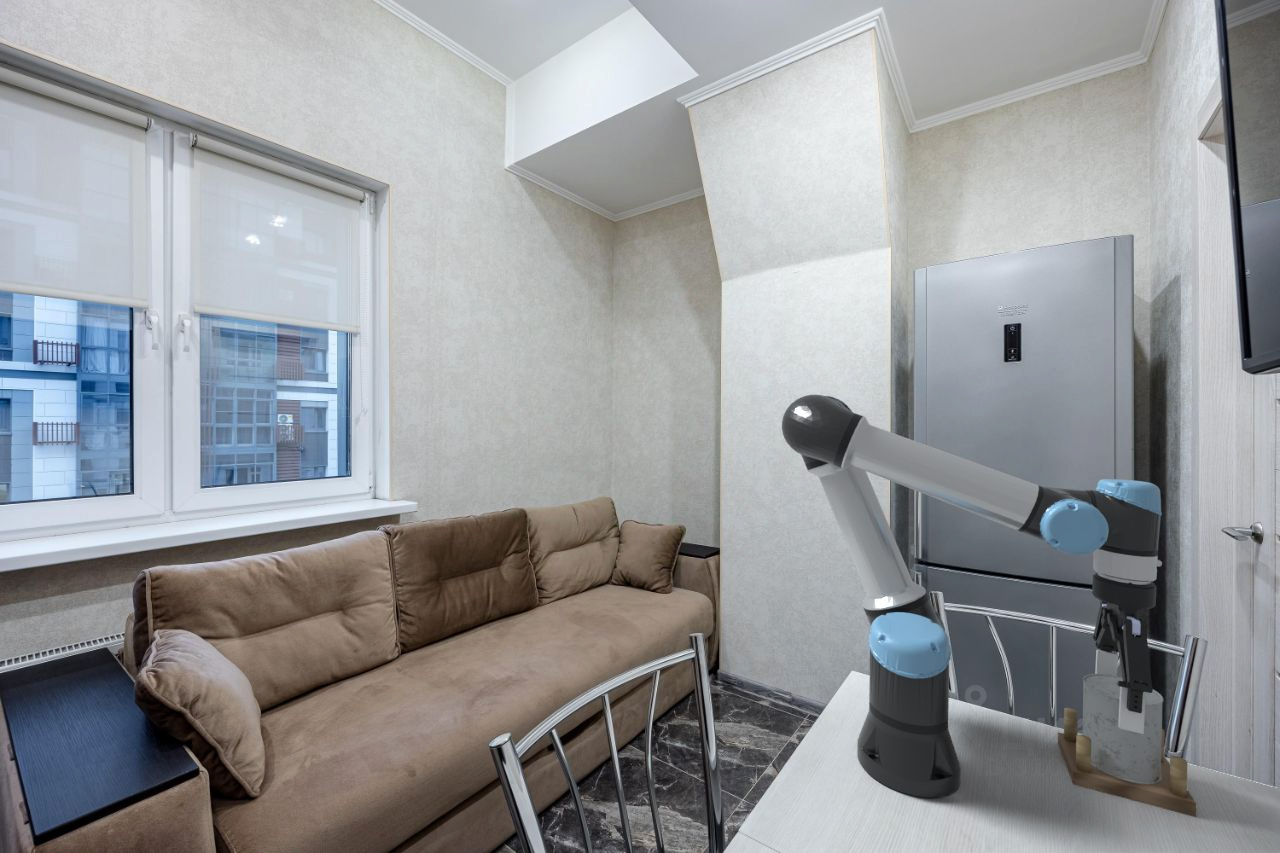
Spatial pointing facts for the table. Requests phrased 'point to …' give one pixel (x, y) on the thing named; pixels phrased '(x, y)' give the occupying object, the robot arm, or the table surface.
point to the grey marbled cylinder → (1121, 732)
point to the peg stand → (1162, 794)
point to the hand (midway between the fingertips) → (1117, 708)
